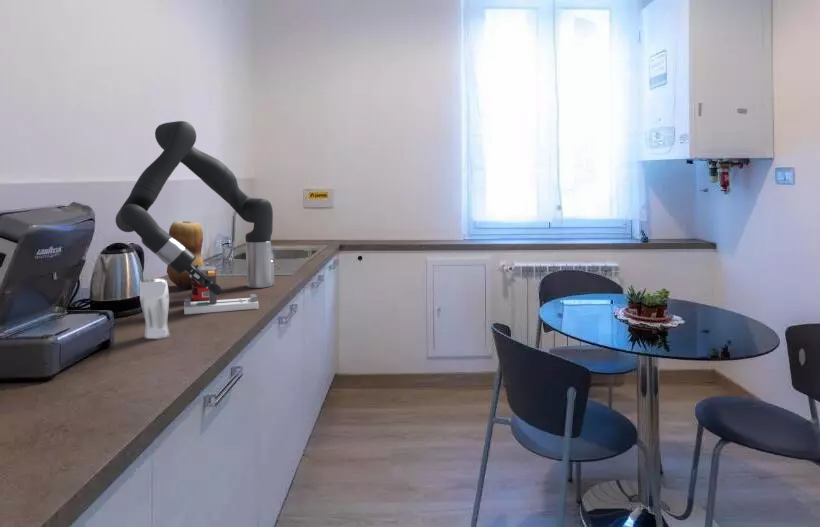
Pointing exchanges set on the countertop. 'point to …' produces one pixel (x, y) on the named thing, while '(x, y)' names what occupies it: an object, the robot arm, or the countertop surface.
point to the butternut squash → (192, 240)
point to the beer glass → (155, 307)
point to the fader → (211, 295)
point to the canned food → (201, 287)
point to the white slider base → (221, 305)
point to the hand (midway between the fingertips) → (218, 291)
